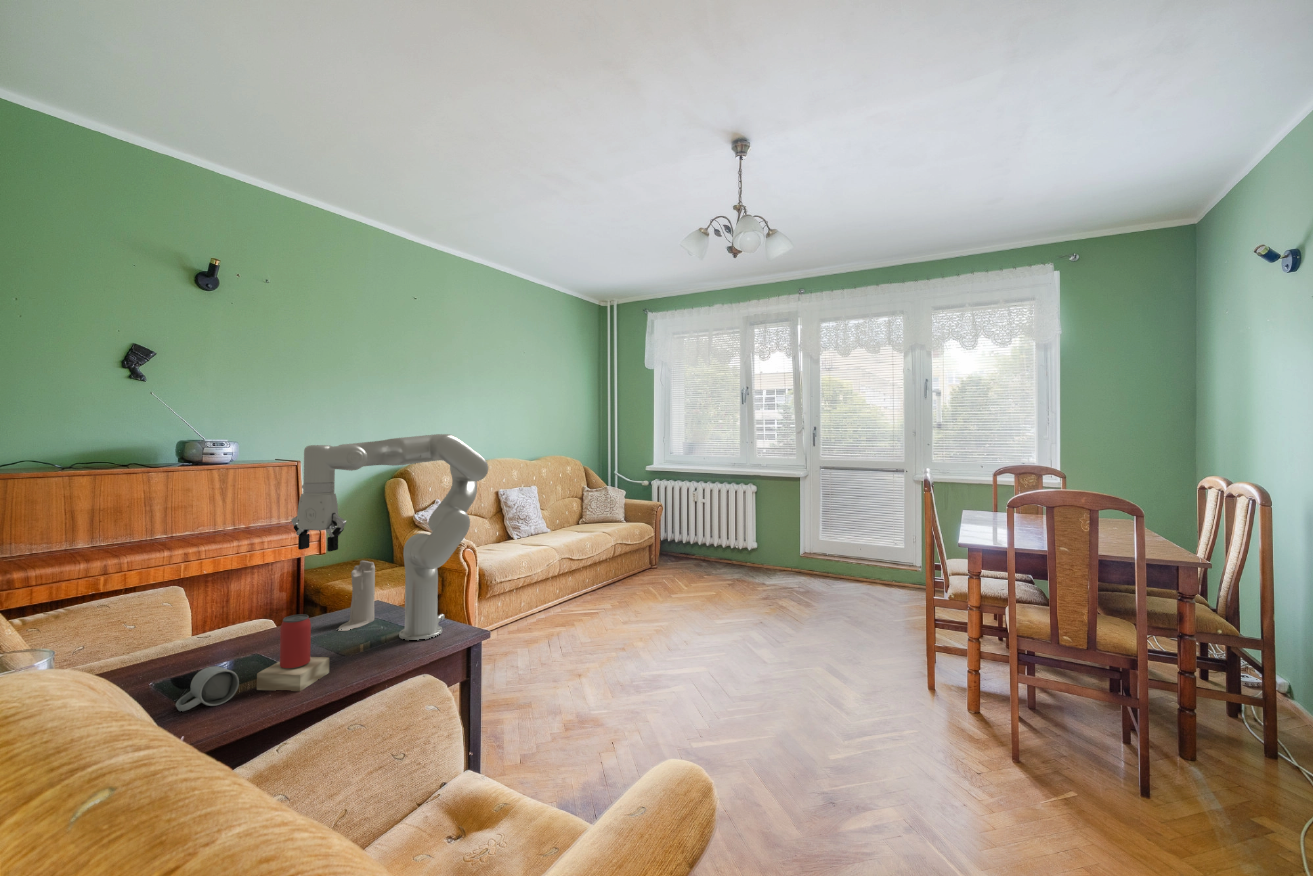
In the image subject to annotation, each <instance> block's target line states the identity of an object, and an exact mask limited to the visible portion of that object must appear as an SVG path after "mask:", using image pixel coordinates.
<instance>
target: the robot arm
mask: <svg viewBox="0 0 1313 876" xmlns="http://www.w3.org/2000/svg"><path fill="white" fill-rule="evenodd" d="M437 461H443V462H445V463H446V464H448V466H449V470H450V471H449V473H450V474H451V479H452V482H451V483H452V484H451V487H450V489H449V491H448V492H447V494H446V495H445V497H444V498H443V499H442V501H440V503H439V504H438V505H437V507H436V508H435V509H434V510H433V511H432V513H431V514H430V516H429V517H428V528H429V529H430V530H431V533H430V534H428V533H417V534H414V535H411V536H410V537H409V538H408V539H407V540H406V542H405V544H404V546H403V563H404V573H405V574H404V576H405V580H404V581H405V586H404V588H405V589H404V591H405V592H404V628H403V629H402V630H400V631H399V632H398V634H399V635H398V636H399V638H400V639H402V640H403V639H405V640H404V641H409V640H417V641H420V640H419V639H425V640H429V638H430V639H432V638H431V637H433V638H436V637H438V636H440V635H441V634H442V633H443V627H442V626H441V625H439V622H441V621H443V620H445V616H446V615H445V614H443V613H440V614H438V606H439V605H438V604H439V603H438V594H439V591H438V590H439V571H438V568H440V567H441V566H443V565H444V564H446V563H447V562H448V560H449V559H450V558H451V556H452V555H453V553H454V552H455V551H456V550H457V548H458V547H459V546H460V544H461V543H462V541H463V540H464V539H465V537H466V535H467V534H468V532H469V530H470V527H471V521H470V520H471V519H470V516H469V514H468V513H467V512H468V510H469V509H470V508H471V507H472V505H473V503H474V501H475V499H476V497H477V493H478V483H477V482H480V481H481V480H483V479H485V477H486V476H487V475H488V472H489V465H488V461H487V460H486V459H485V458H484V457H483V456H482V455H481V454H480V453H478V452H477V451H476V450H474V449H473V448H471V447H470V446H469V445H468V444H466V443H465V442H464V441H462V440H461V439H459V438H458V437H456V436H454V435H452V434H448V433H436V434H425V435H416V436H405V437H403V436H402V437H394V438H388V439H381V440H373V441H366V442H355V443H345V444H344V443H342V444H338V445H336V446H335V445H334V446H333V445H329V444H328V445H327V444H317V445H316V444H312V445H311V444H310V445H309V444H308V445H307V446H306V447H304V450H303V484H302V486H301V488H302V489H303V490H302V491H303V493H301V494H300V496H299V500H298V507H297V515H296V516H294V517H292V518H291V524H292V525H293V529H294V530H295V533H296V535H297V536H298V539H297V540H298V543H297V544H298V545H297V548H298V549H297V550H298V551H299V550H306V549H308V548H310V539H311V538H310V537H311V536H310V533H309V532H310V531H326V533H327V535H328V537H327V538H326V539H327V542H326V543H327V547H326V549H327V550H326V551H327V552H334V551H338V550H339V536H341V533H342V532H343V531H344V530H345V526H346V524H347V520H345V519H344V518H342V517H341V516H339V505H338V499H337V495H336V493H335V485H336V484H335V483H336V481H335V475H336V474H335V471H336V470H339V471H340V470H341V471H342V470H343V471H351V472H352V471H357V470H359V469H360V470H361V469H362V468H363V467H370V466H371V467H372V466H393V467H394V466H405V465H412V464H413V465H414V464H421V463H429V462H430V463H431V462H437ZM441 619H442V620H441ZM439 634H440V635H439ZM437 635H438V636H437ZM435 636H436V637H435Z"/></svg>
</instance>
